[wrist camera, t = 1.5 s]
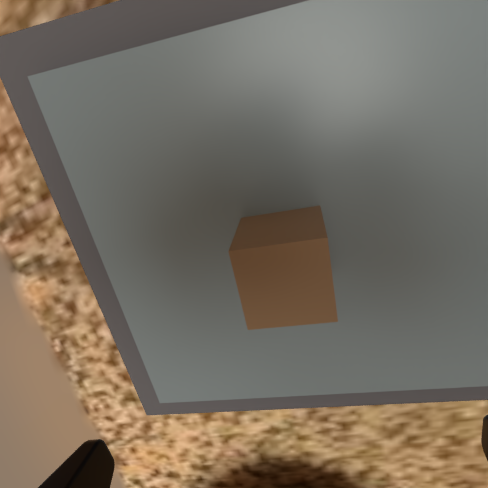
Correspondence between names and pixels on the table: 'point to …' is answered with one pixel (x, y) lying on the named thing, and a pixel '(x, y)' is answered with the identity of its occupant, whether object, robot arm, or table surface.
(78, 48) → the mat
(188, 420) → the table surface
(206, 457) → the table surface
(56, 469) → the robot arm
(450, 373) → the lid
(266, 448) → the table surface
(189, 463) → the table surface
